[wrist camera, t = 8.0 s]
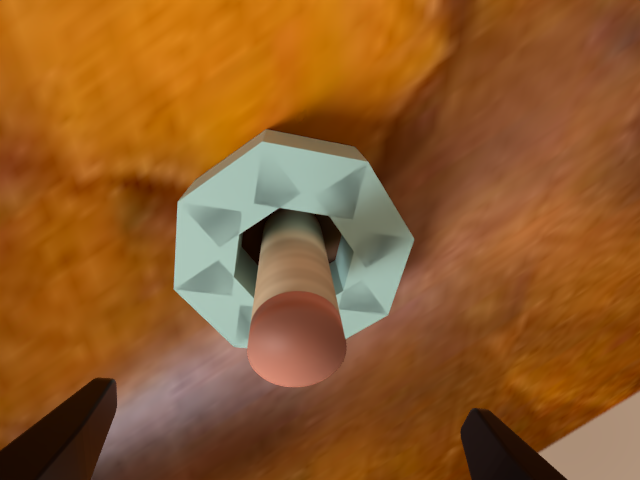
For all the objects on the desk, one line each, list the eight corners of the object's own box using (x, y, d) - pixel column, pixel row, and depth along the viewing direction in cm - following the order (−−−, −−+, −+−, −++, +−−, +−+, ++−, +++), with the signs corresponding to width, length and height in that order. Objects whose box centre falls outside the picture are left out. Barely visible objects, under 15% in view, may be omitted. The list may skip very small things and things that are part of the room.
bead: (361, 323, 21) (372, 360, 19) (186, 303, 20) (171, 340, 17) (413, 158, 17) (436, 174, 15) (199, 115, 16) (181, 125, 13)
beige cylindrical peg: (315, 263, 19) (334, 390, 12) (259, 255, 19) (241, 383, 11) (326, 212, 18) (356, 316, 11) (267, 202, 18) (254, 304, 10)
